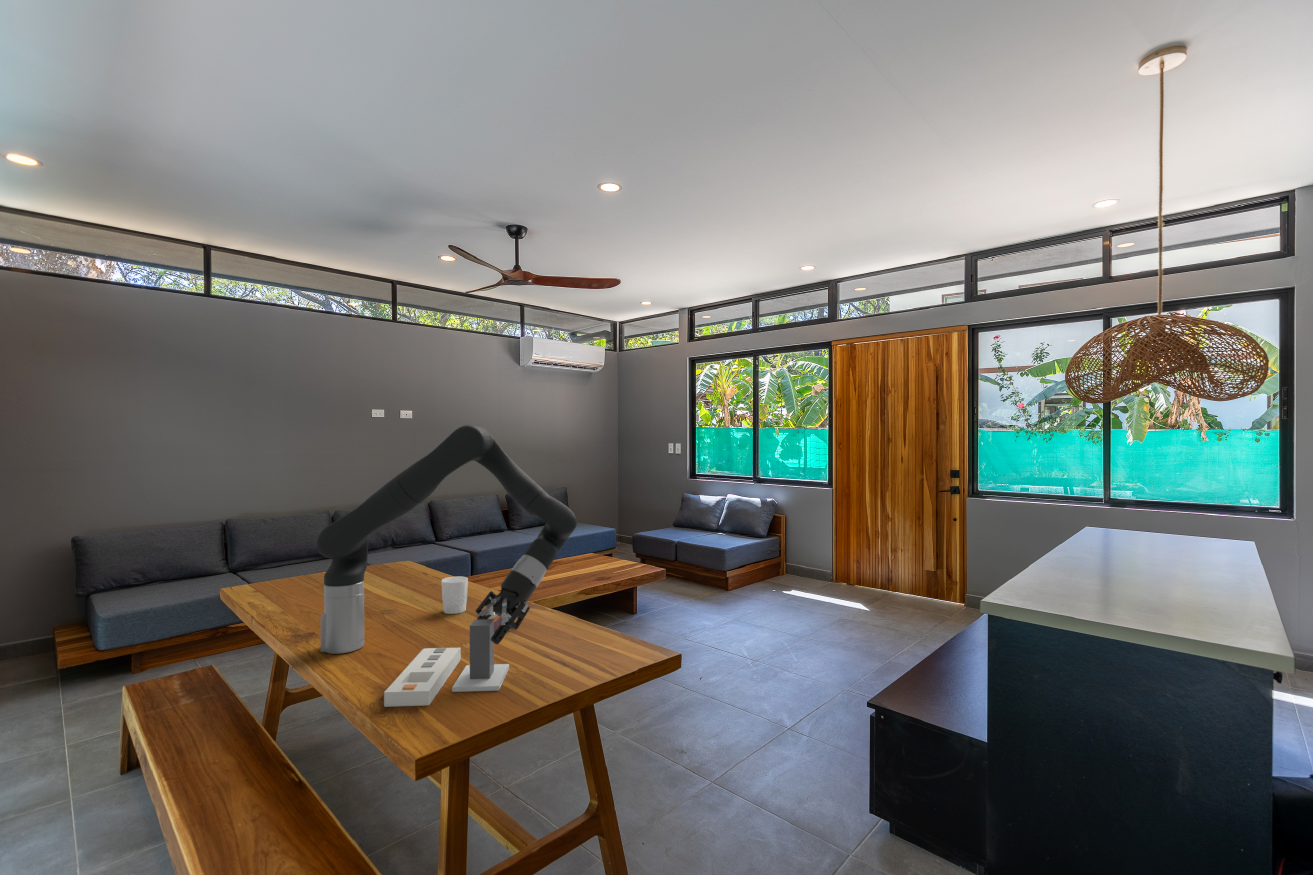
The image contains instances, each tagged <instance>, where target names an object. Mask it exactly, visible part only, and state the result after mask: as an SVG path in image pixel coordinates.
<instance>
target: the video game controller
mask: <svg viewBox="0 0 1313 875" xmlns="http://www.w3.org/2000/svg"><path fill="white" fill-rule="evenodd" d="M500 625H501V626H502V616H498V618H497V620H494V633H495V631H496V630H497V628H498V627H499V626H500Z"/></svg>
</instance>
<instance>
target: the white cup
mask: <svg viewBox="0 0 1313 875" xmlns="http://www.w3.org/2000/svg"><path fill="white" fill-rule="evenodd" d="M468 580H469V578H468V577H466V576H463V575H462V576H461V575H460V576H450V577H445V578H442V579H441V596H442V597H441V599H442V604H443V607H442V608H443V613H445V614H446V615H456V614H461V613H465V612H466V611H467V602H468V601H467V600H468V584H469V581H468Z"/></svg>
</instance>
